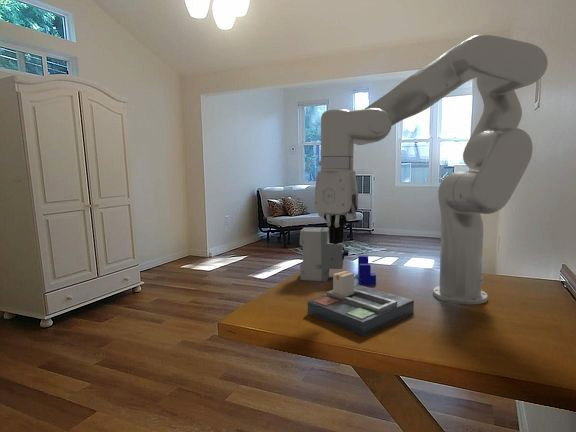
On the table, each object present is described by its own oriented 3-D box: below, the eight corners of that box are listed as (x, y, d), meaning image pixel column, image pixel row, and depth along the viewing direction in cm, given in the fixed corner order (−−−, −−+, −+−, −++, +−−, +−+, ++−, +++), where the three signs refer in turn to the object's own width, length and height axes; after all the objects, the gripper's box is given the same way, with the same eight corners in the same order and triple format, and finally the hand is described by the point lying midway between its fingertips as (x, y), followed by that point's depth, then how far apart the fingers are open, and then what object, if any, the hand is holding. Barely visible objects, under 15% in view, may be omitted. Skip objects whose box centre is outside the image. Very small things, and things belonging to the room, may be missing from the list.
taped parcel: (344, 290, 89) (344, 270, 89) (354, 293, 87) (354, 272, 86) (333, 294, 87) (332, 273, 86) (342, 297, 84) (342, 276, 84)
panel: (358, 295, 95) (358, 280, 95) (413, 312, 83) (413, 295, 82) (307, 313, 84) (307, 297, 83) (363, 336, 71) (363, 317, 71)
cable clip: (375, 285, 104) (376, 265, 103) (359, 285, 104) (359, 265, 104) (372, 274, 116) (372, 255, 115) (358, 273, 116) (358, 255, 116)
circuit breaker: (347, 281, 108) (347, 231, 106) (300, 279, 110) (299, 231, 109) (348, 274, 115) (348, 227, 113) (304, 273, 118) (303, 227, 116)
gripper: (302, 165, 87) (302, 240, 89) (352, 164, 76) (351, 250, 78) (323, 166, 92) (323, 237, 94) (373, 164, 81) (371, 245, 83)
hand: (336, 242), depth 86 cm, fingers closed
